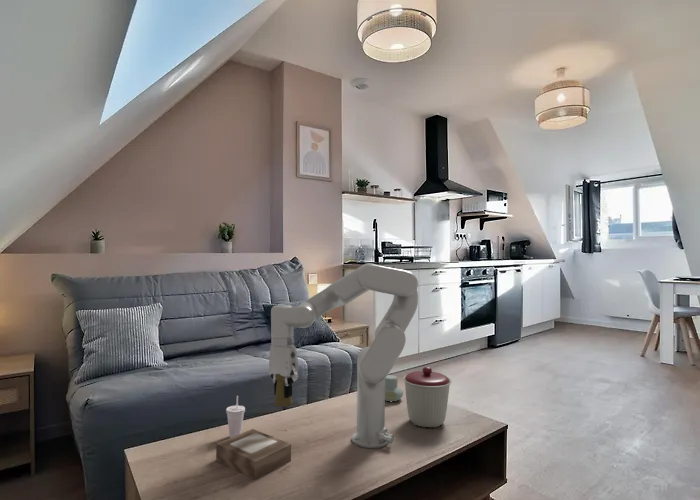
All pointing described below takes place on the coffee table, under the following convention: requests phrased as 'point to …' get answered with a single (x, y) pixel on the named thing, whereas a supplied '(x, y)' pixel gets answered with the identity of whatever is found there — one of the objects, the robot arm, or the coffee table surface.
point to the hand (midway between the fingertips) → (283, 395)
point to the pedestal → (253, 453)
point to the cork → (281, 392)
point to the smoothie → (235, 419)
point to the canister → (427, 397)
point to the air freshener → (392, 389)
